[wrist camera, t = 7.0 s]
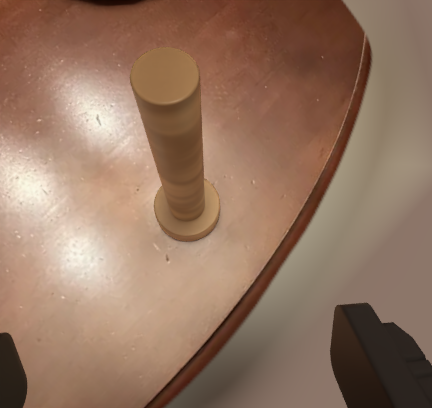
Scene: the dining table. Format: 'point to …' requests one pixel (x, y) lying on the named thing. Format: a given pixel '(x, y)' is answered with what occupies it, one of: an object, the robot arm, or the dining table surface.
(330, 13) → the dining table surface
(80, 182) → the dining table surface
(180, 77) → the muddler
